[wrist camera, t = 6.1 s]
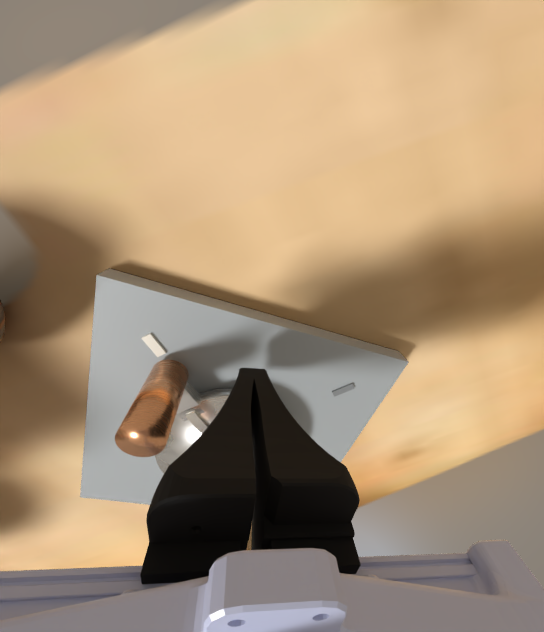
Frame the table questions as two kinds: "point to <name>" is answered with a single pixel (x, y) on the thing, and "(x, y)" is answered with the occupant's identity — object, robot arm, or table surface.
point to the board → (216, 372)
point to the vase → (2, 321)
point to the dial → (168, 414)
